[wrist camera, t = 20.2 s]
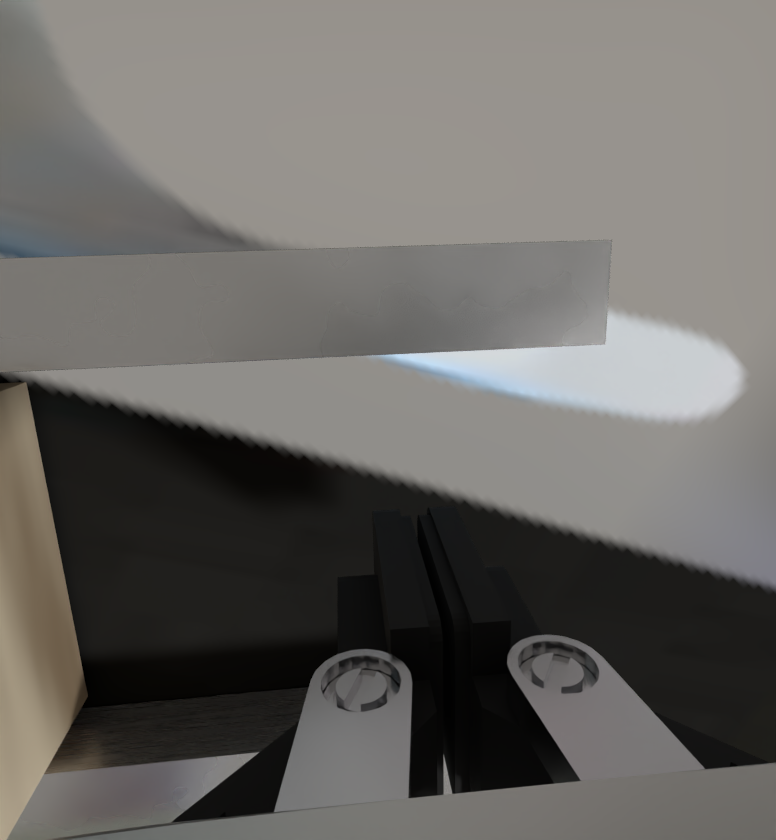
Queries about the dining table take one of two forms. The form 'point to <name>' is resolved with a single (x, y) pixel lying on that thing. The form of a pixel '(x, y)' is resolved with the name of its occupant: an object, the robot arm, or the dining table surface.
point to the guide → (250, 341)
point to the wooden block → (30, 617)
